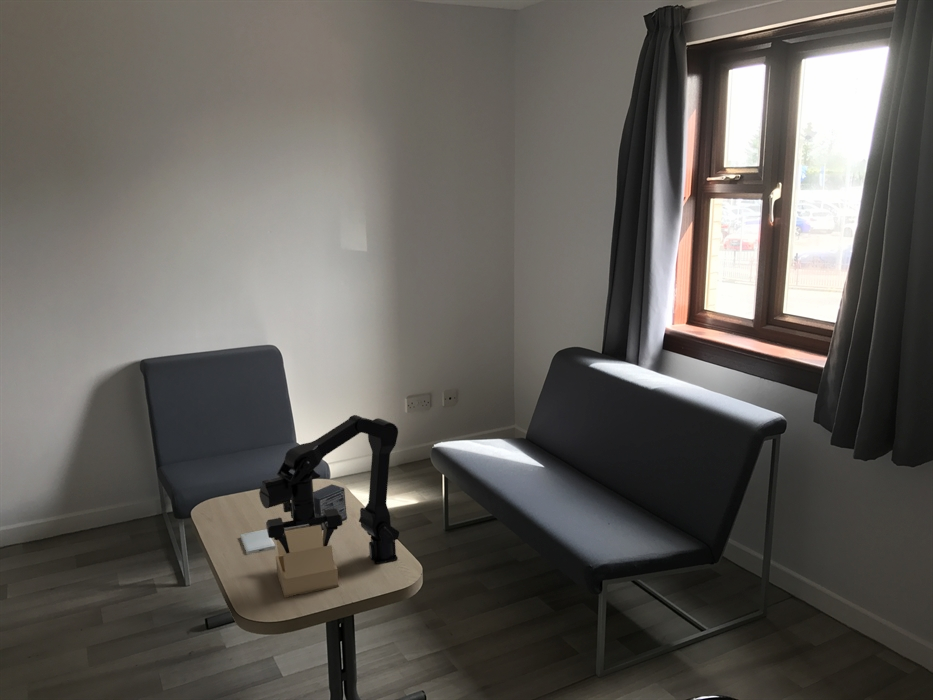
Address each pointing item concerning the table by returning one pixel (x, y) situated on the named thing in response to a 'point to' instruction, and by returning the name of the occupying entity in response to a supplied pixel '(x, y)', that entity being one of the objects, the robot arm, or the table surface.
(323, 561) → the flap
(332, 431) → the robot arm
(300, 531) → the flap
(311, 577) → the carton
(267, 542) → the hard drive
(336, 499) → the small box
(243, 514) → the table surface
